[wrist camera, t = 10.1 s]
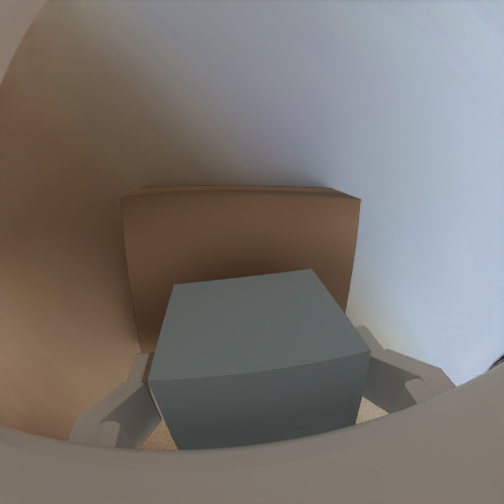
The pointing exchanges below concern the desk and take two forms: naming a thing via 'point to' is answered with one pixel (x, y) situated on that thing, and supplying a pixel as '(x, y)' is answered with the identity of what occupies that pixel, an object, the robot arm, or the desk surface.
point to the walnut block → (232, 240)
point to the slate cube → (256, 362)
